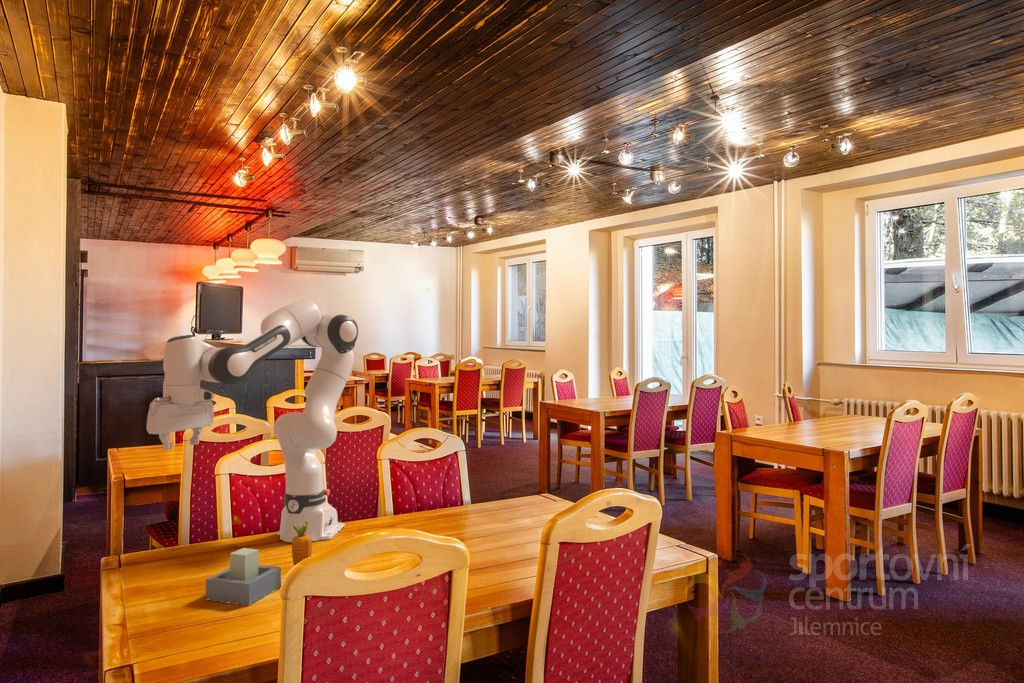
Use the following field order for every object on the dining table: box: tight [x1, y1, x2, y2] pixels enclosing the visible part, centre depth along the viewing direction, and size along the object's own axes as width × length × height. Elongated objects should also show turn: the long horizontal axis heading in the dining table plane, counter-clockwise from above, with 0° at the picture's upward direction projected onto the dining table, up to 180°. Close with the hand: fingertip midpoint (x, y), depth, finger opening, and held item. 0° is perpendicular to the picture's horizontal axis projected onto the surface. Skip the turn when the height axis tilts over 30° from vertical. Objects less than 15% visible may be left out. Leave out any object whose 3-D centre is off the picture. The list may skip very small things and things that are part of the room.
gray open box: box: [205, 564, 282, 606], centre depth 156 cm, size 12×12×5 cm
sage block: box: [229, 547, 259, 581], centre depth 156 cm, size 4×4×9 cm
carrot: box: [291, 520, 313, 566], centre depth 166 cm, size 5×5×15 cm
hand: (181, 447), depth 172 cm, fingers open, 8 cm apart
